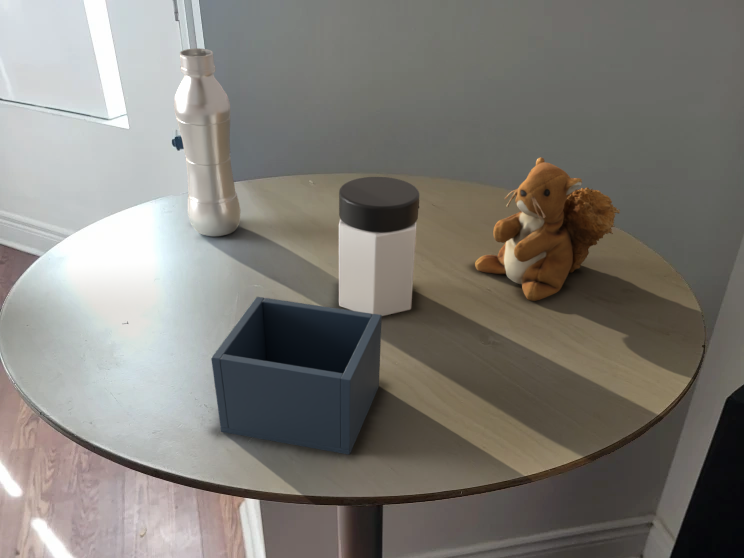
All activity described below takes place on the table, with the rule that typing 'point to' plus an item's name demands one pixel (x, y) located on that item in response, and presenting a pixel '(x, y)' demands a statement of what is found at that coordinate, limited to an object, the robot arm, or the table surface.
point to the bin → (298, 374)
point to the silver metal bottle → (206, 145)
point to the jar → (377, 244)
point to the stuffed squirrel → (548, 230)
